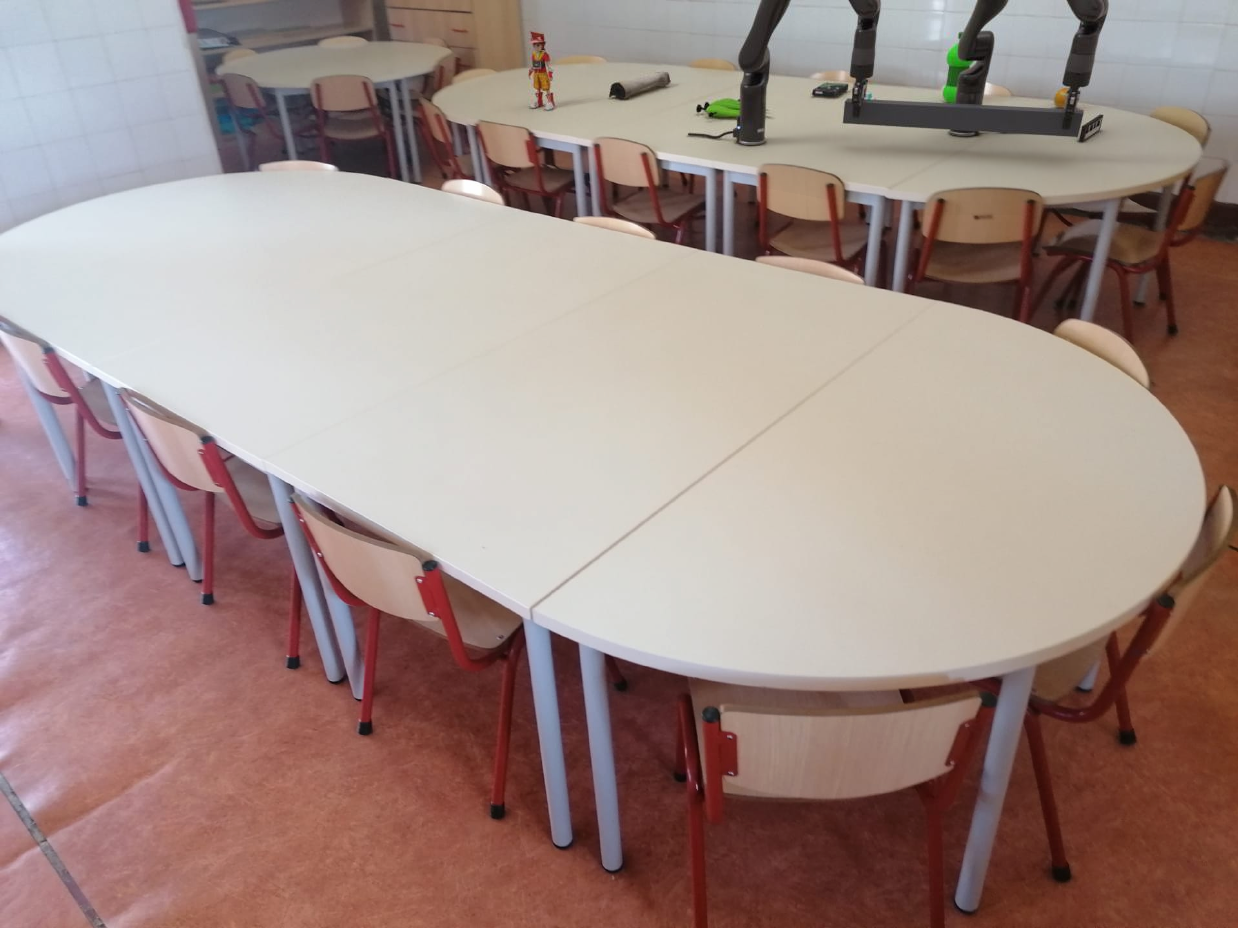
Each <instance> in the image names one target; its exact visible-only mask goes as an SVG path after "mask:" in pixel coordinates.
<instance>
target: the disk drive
mask: <svg viewBox="0 0 1238 928" xmlns="http://www.w3.org/2000/svg"><path fill="white" fill-rule="evenodd" d="M848 90H849V83H841V82H824V83H823V84H820V85H819V86H817V87H815V88H813V89H812V93H811V95H812V96H813V97H820V98H833V99H834V98H837V97H839V96H841V95H843V94H844V93H845V92H847V91H848Z"/></svg>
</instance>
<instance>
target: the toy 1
mask: <svg viewBox="0 0 1238 928" xmlns="http://www.w3.org/2000/svg"><path fill="white" fill-rule="evenodd" d="M529 33H530V35H531V36H528V37H527V38H528V39H529V40H528V41H527V43H529V44H530V43H531V44H532V48H533V50H534V51H533V52H532V55H531V58H530V59H531V63H530V66H528V74H527V75H528V76H527V77H528V79H529V80H531V75H532V74H533V84H532V85H533V86H532V87H533V88H534V89H535V90H536V92H534V95H535V97H536V100H535V101H533V102H531V105H530V108H531V109H535V108H538V107H542V106H544V101H543V100H544V99H543V95H544V92H546V94H545V97H546V99H547V103H546V104H545V106H544V110H546V111H549V110H553V109H554V107H555V106H556V105H555V99H554V92H551V91H550V90H551V86H552V84H551V82H552V81H553V80H554V77H553V73H554V71H555V70H554V69H552V68H551V63H550V61H551V59H550V58H551V57H550V54H549V53H548V52H547V50H546V48H545V46H546V44H547V41H545V35H544V33H543V32H542V33H539V32H535V31H529Z"/></svg>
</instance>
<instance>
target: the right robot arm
mask: <svg viewBox="0 0 1238 928" xmlns="http://www.w3.org/2000/svg"><path fill="white" fill-rule="evenodd" d="M1009 1H1010V0H976V3H975V5H974V9H973V11H972V13H971V15H970V17H969V19H968V22H967V23H966V26H965V27H964V29H963V31H962V32H963V34H962V36H961V38H960V41H959V40H958V43H959V44H958V49H957V55H958V58H959V59H960V60H961V61H973V62H975V63H974V64H973V65H972V66H970V68H969V69H967V70H965V71H962V72H961V73H960V74H959V77H958V83H957V90H956V96H955V103H953V104H974V105H983V102H984V96H985V90H986V83H987V79H988V76H989V72H990V67H991V62H992V58H993V54H994V49H995V43H996V41H995V39H996V38H995V34H994V32H993V31H992V30H983V28H984V27H985V26H986V25H988V24H989V23H990V22H991V21H992V20H994V18H996V17H997V16H998V15H999V14H1000V13H1001V12H1003V10H1004V9H1005V7H1006V6H1007V5H1008V3H1009ZM1066 2H1067V4H1068V6H1069V8H1070V10H1071V12H1072V13H1073V15H1074V17H1076V19H1077V20H1078V21H1079V25H1078V29H1077V31H1076V32H1075V34H1074V35H1073V38H1072V42H1071V46H1070V50H1069V54H1068V57H1067V60H1066V63H1065V69H1064V73H1063V78H1062V82H1061V83H1062V86H1065V87H1066V88H1070V89H1069V90H1067V92H1066V100H1065V106H1064V108H1065V109H1066V110H1065V113H1064V120H1063V124H1062V129H1069V128H1070V124H1071V119H1072V117H1073V115H1074V110H1075V109H1076V110H1077V106H1078V103H1079V101H1078V99H1079V100H1080V97H1081V92H1082V91H1081V90H1079V89H1080V88H1086V87H1088V86H1089V85H1090V82H1091V77H1092V73H1093V70H1094V66H1095V61H1096V52H1097V49H1098V44H1099V39H1100V35H1101V32H1102V30H1103V28H1104V24H1105V22H1106V18H1107V17H1108V12H1109V7H1110V3H1109V0H1066ZM1068 109H1072V112H1067V110H1068ZM979 132H980V131H964V130H949V134H950V135H952V136H956V137H973V136H979Z"/></svg>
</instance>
